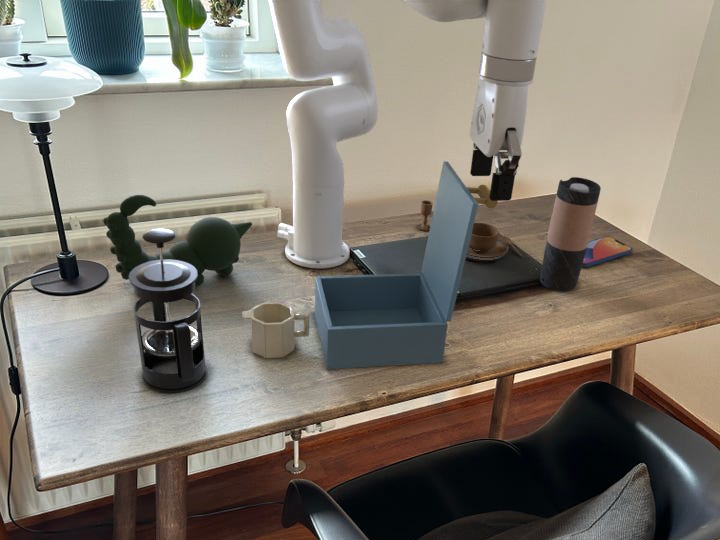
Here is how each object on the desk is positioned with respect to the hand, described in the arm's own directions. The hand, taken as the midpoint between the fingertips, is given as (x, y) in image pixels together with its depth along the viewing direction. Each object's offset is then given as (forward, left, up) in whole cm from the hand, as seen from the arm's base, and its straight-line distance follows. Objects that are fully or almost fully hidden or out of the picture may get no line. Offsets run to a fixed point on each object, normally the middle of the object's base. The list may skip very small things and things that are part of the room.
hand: (489, 187), depth 111 cm
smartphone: (+13, +44, -26) cm, 53 cm away
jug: (-26, -20, -26) cm, 42 cm away
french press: (-34, -34, -26) cm, 55 cm away
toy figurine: (-50, -10, -26) cm, 57 cm away
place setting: (-12, +34, -26) cm, 45 cm away
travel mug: (+9, +27, -26) cm, 39 cm away
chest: (-13, -9, -26) cm, 31 cm away
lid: (-5, -3, -9) cm, 11 cm away
